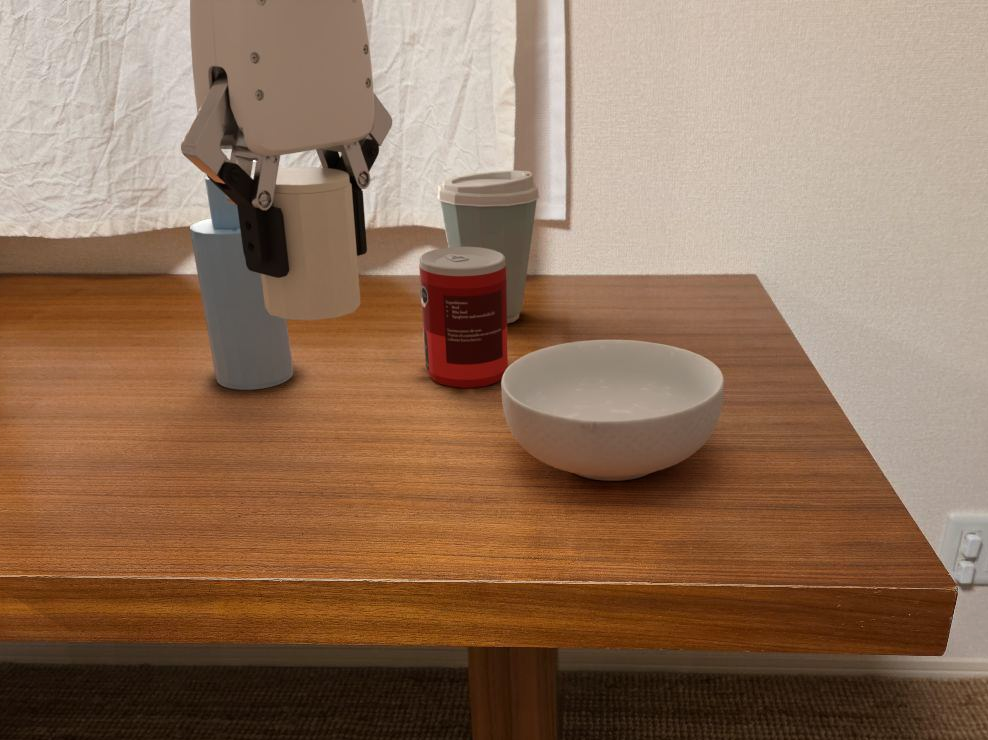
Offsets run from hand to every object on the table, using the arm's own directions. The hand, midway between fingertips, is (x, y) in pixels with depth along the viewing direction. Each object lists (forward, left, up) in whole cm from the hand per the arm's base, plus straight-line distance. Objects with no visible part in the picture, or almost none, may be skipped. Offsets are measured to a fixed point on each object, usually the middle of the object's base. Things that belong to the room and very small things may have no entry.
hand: (308, 259), depth 63 cm
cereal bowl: (+18, -11, -18) cm, 28 cm away
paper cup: (0, 0, -3) cm, 3 cm away
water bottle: (+14, +26, -18) cm, 34 cm away
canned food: (+26, +10, -18) cm, 33 cm away
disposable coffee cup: (+41, +19, -18) cm, 49 cm away
